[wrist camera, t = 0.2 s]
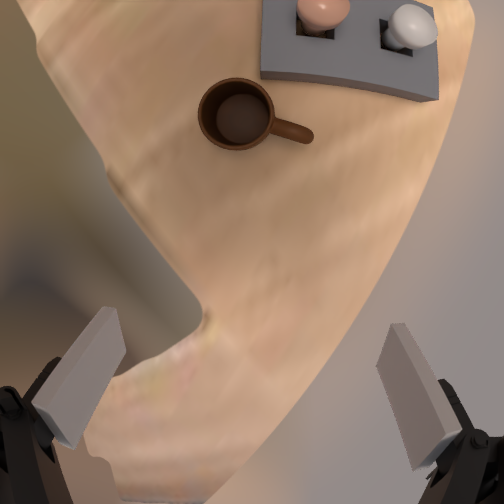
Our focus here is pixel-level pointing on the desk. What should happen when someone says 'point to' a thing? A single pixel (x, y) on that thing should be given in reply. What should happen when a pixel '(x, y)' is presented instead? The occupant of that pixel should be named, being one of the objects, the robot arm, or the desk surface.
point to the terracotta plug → (321, 15)
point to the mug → (243, 116)
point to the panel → (348, 52)
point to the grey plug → (409, 29)
